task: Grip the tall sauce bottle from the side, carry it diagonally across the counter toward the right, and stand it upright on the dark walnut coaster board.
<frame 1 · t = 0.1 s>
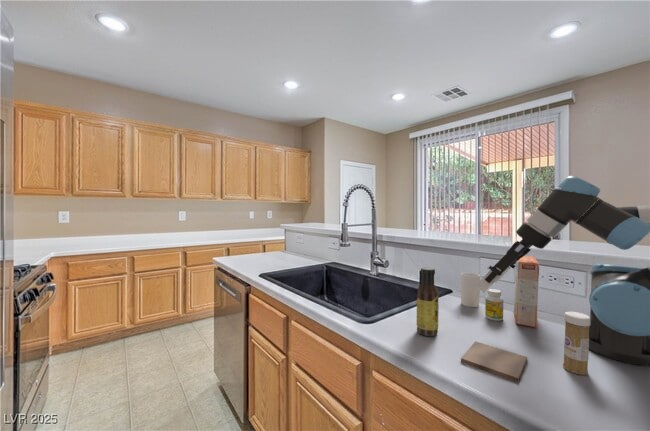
hand: (486, 284, 86), 15 cm above the worktop, tool tilted 35°, fingers open, 13 cm apart
cracker box: (524, 319, 97), on the worktop
coaster board: (494, 361, 71), on the worktop
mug: (471, 304, 113), on the worktop
sprinkles bottle: (575, 370, 67), on the worktop
supplement bottle: (493, 318, 99), on the worktop
sauce bottle: (427, 333, 87), on the worktop
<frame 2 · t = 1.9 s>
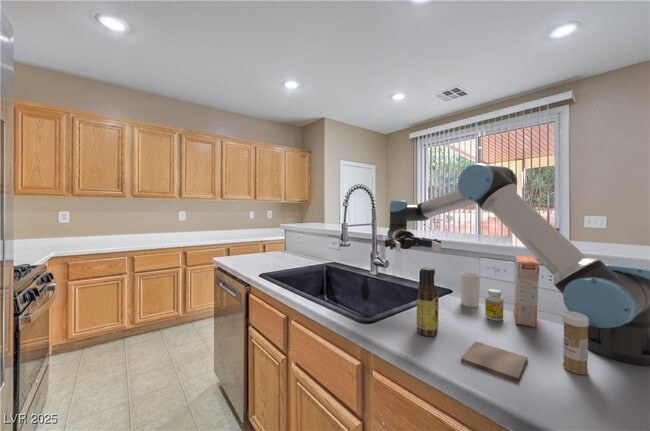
hand: (419, 247, 95), 25 cm above the worktop, tool horizontal, fingers open, 13 cm apart
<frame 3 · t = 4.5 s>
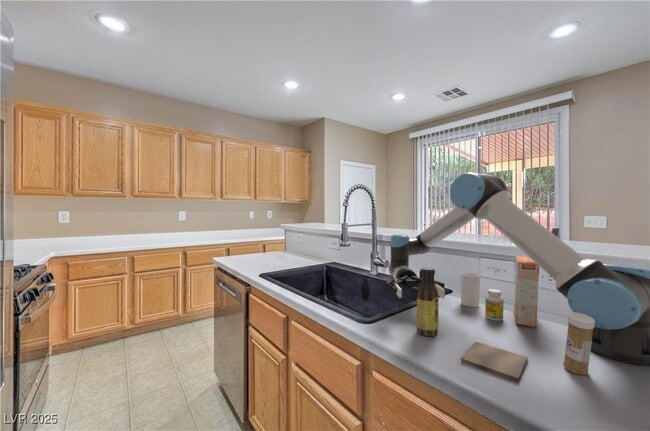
hand: (422, 293, 91), 11 cm above the worktop, tool horizontal, fingers open, 13 cm apart
sprinkles bottle: (575, 369, 67), on the worktop, touching arm
everything else where it was.
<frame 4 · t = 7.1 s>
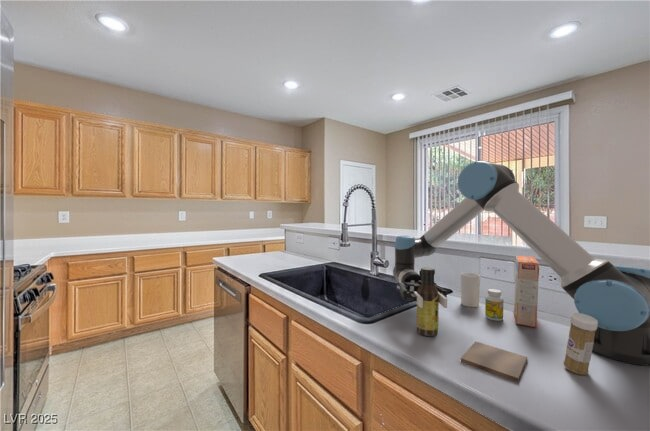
hand: (433, 303, 82), 11 cm above the worktop, tool horizontal, fingers closed on sauce bottle, 6 cm apart
sauce bottle: (427, 333, 87), on the worktop, touching gripper
everything else where it was.
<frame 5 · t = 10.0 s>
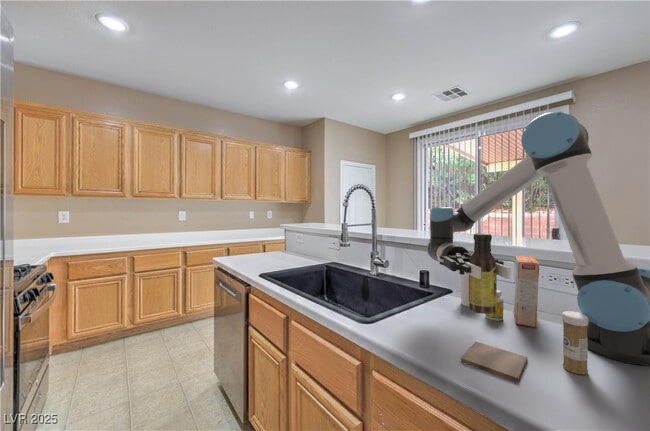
hand: (494, 273, 68), 23 cm above the worktop, tool horizontal, fingers closed on sauce bottle, 6 cm apart
sauce bottle: (482, 311, 73), point 12 cm above the worktop, touching gripper
when the fingers open (13 cm above the worktop, at t = 12.9 s): sauce bottle drops 1 cm, resting on coaster board.
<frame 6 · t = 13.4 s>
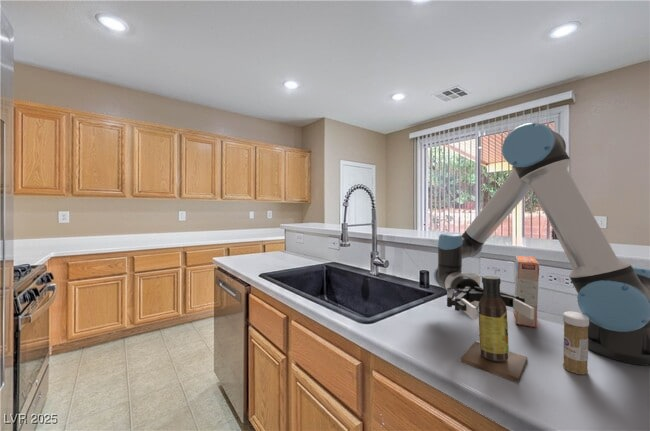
hand: (503, 313, 67), 14 cm above the worktop, tool horizontal, fingers open, 13 cm apart
sauce bottle: (494, 357, 71), point 1 cm above the worktop, touching coaster board
everything else where it was.
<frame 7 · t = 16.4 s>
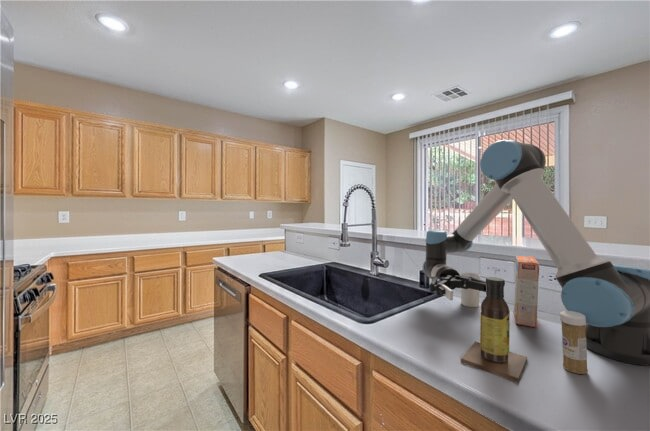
hand: (475, 295, 80), 14 cm above the worktop, tool horizontal, fingers open, 13 cm apart
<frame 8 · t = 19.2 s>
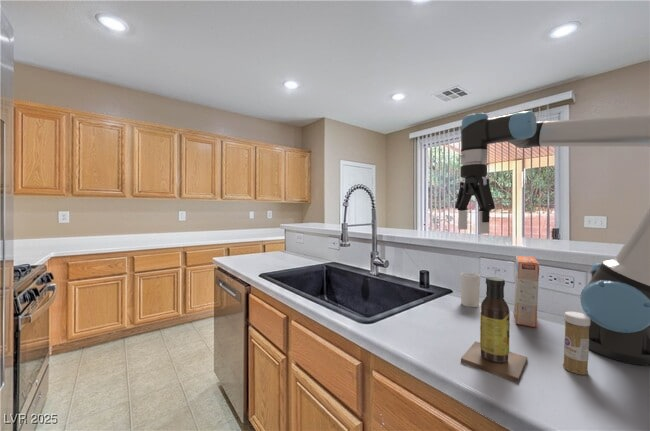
hand: (472, 231, 91), 31 cm above the worktop, tool pointing down, fingers open, 13 cm apart
at the end: sauce bottle inside the target area on the coaster board (0.1 cm from its centre), point 0.8 cm above the coaster board's base; sauce bottle tilted 0°; the gripper is holding nothing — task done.
